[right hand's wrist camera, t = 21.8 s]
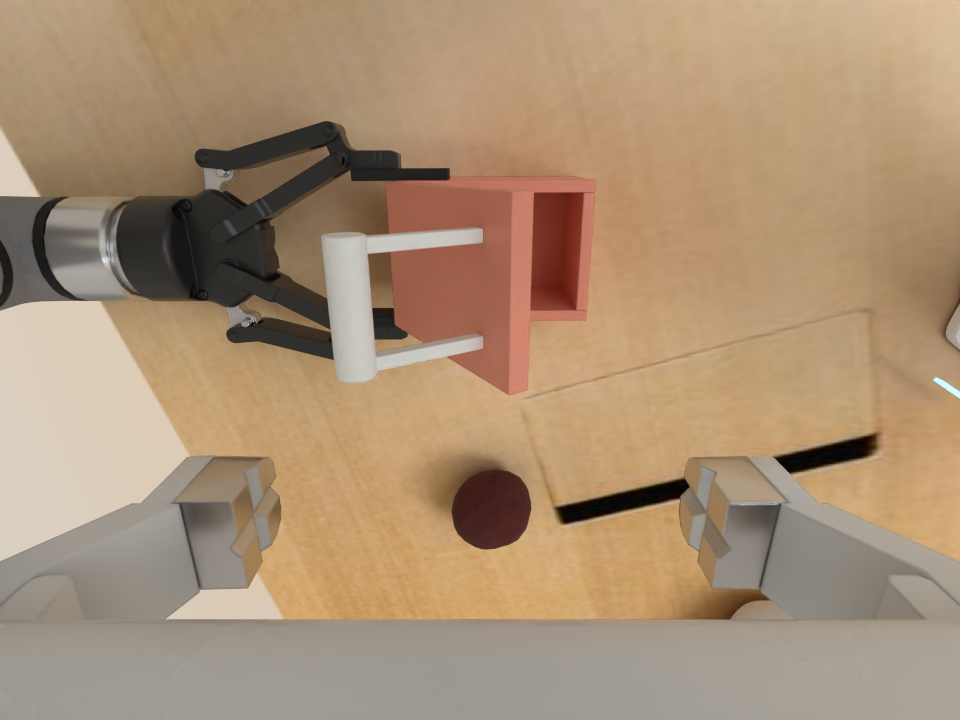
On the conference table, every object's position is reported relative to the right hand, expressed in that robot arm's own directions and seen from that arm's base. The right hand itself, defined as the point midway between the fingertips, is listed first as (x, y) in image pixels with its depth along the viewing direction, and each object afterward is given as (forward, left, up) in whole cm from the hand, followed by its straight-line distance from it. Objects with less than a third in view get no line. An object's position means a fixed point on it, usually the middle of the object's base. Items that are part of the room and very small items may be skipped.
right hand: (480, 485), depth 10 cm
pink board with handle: (+1, +1, -21) cm, 22 cm away
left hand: (+1, +2, -30) cm, 30 cm away
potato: (-19, +16, -36) cm, 44 cm away
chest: (-1, -1, -36) cm, 37 cm away
